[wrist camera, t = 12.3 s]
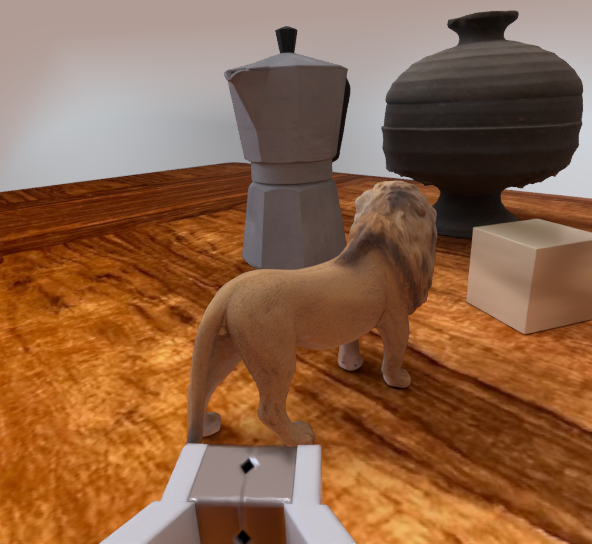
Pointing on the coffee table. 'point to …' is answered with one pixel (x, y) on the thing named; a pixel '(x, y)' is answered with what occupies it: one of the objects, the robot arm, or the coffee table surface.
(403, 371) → the lion figurine
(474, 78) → the pot
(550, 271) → the beige block
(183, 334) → the coffee table surface
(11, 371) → the coffee table surface
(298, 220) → the coffeepot
